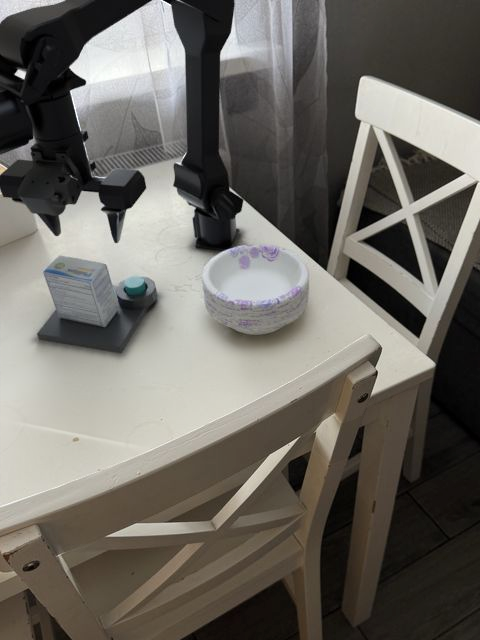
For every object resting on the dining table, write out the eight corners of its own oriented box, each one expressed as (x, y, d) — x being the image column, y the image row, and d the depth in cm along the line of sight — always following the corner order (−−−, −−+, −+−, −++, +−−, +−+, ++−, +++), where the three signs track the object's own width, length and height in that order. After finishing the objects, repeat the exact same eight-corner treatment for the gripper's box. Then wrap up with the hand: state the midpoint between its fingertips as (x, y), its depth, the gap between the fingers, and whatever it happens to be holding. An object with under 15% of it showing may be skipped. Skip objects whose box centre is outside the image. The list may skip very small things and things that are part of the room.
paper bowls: (281, 273, 96) (281, 231, 91) (326, 330, 86) (328, 286, 81) (192, 299, 92) (186, 256, 87) (228, 361, 82) (224, 317, 77)
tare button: (149, 285, 91) (147, 277, 90) (141, 297, 89) (139, 289, 88) (130, 282, 91) (129, 274, 90) (122, 294, 89) (120, 286, 88)
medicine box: (120, 310, 89) (108, 262, 83) (105, 329, 86) (91, 281, 80) (74, 300, 91) (59, 253, 85) (58, 318, 88) (41, 271, 82)
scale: (163, 294, 93) (161, 279, 91) (127, 354, 84) (123, 338, 82) (83, 282, 96) (78, 267, 94) (39, 339, 86) (33, 324, 84)
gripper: (-48, 155, 70) (-2, 263, 81) (97, 167, 66) (125, 280, 77) (3, 116, 77) (39, 220, 88) (136, 125, 74) (157, 233, 85)
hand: (87, 238), depth 84 cm, fingers open, 9 cm apart
